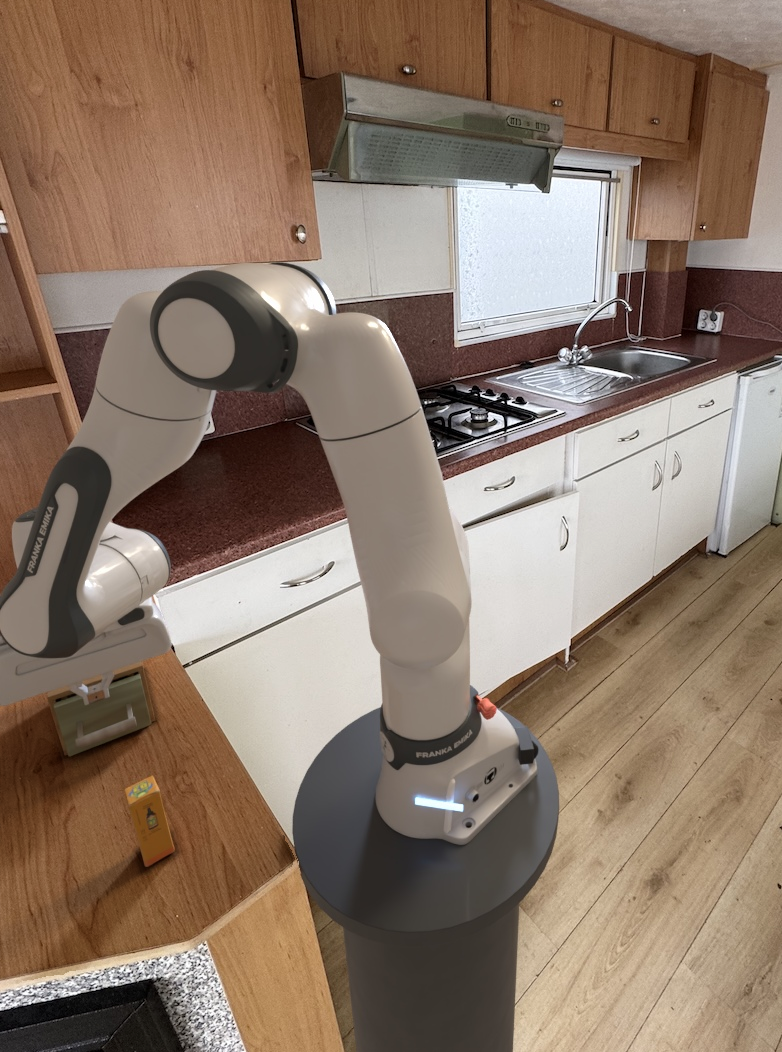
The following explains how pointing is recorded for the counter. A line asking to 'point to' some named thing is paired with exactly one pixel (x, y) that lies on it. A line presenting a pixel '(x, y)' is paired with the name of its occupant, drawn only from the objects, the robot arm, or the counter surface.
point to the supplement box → (149, 820)
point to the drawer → (103, 715)
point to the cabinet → (64, 691)
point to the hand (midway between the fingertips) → (97, 698)
